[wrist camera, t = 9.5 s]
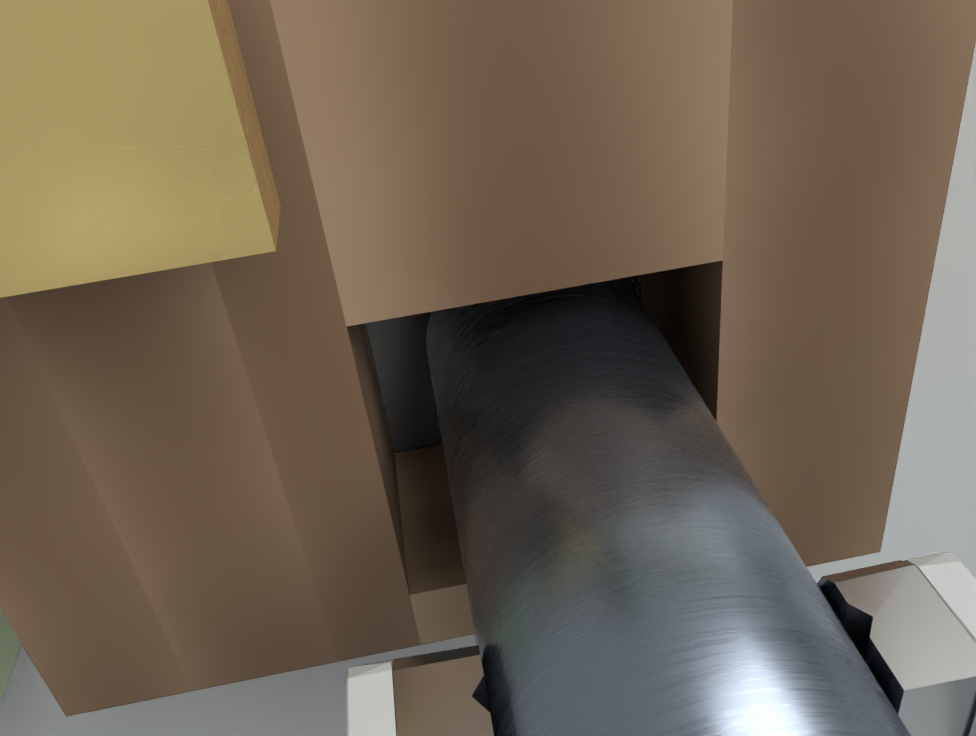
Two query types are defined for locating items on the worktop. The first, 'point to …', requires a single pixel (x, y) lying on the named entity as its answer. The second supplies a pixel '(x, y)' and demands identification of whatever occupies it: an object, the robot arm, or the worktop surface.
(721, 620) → the peg
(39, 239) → the yellow square block
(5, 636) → the square ring
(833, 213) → the socket block
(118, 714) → the worktop surface
